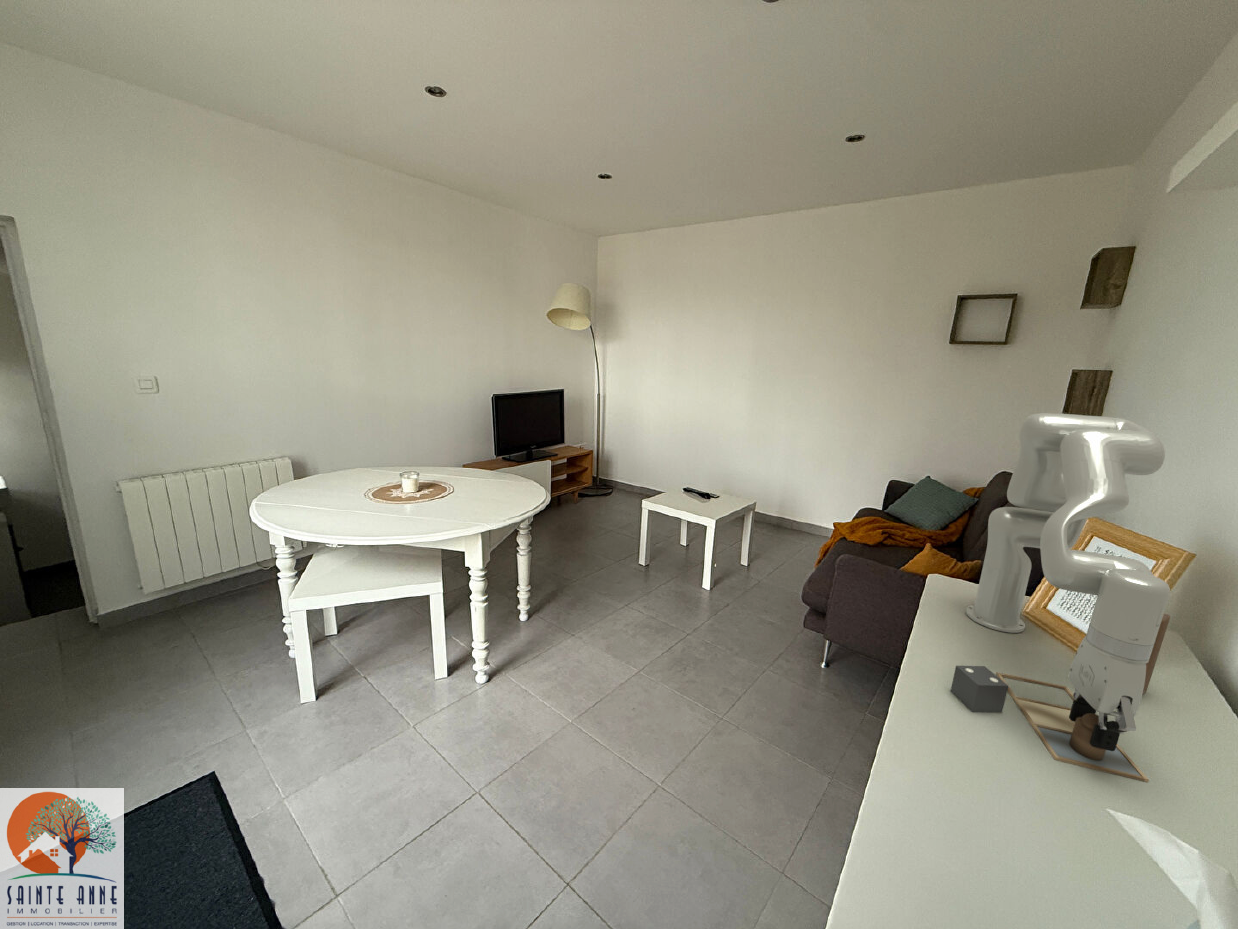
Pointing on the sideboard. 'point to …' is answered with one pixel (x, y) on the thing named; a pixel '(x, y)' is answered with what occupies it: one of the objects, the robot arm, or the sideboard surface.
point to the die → (979, 689)
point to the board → (1068, 734)
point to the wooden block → (1155, 650)
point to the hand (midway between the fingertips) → (1090, 733)
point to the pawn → (1086, 737)
